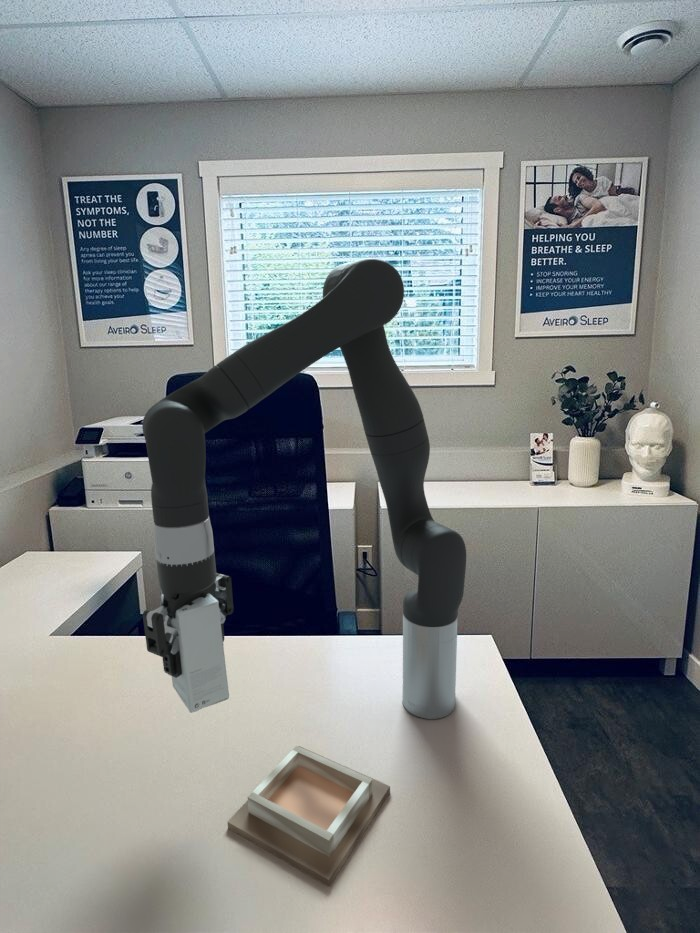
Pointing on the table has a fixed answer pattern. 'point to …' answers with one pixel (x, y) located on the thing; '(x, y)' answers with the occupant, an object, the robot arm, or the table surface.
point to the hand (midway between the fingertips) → (196, 659)
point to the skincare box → (200, 654)
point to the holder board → (310, 812)
